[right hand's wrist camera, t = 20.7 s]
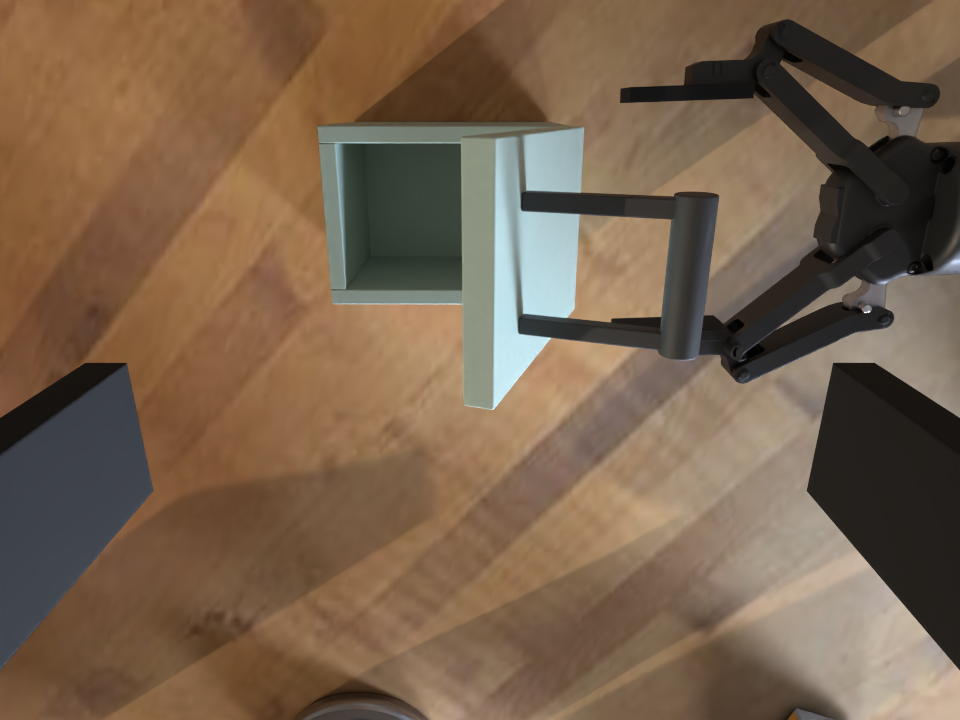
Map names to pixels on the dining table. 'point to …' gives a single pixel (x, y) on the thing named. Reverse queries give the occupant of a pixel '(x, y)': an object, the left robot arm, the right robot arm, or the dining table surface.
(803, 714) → the hard drive box
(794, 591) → the dining table surface
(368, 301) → the chest
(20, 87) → the dining table surface
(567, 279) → the lid
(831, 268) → the left robot arm
